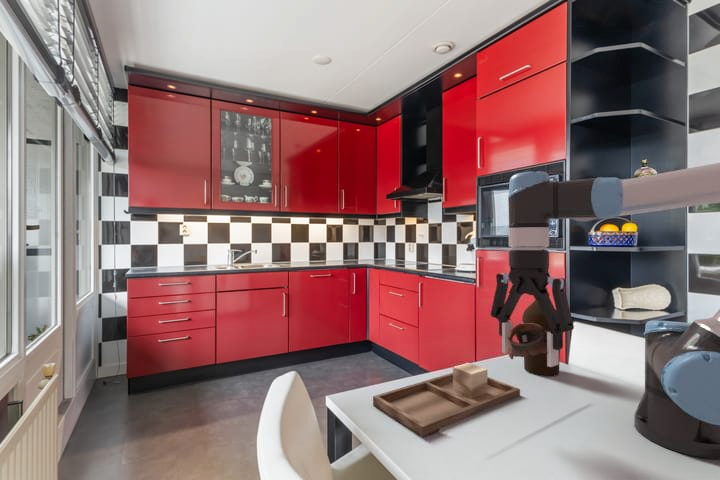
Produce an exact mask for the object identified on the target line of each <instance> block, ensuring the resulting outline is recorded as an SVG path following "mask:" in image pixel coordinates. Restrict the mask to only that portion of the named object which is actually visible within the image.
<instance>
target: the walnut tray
mask: <svg viewBox="0 0 720 480" xmlns="http://www.w3.org/2000/svg"><path fill="white" fill-rule="evenodd" d="M520 396H521V389H520V388H518V387H515V386H512V385H510V384H507V383H504V382H502V381H499V380H497V379H493V377H489V376H487V393H486V394H483V395H480V396H478V397H475V398H472V399H471V398H469V397H467V396H465V395H463V394H460V393H458V392H456V391H454V390H453V372H451V373H447V374H444V375H440V376H437V377H434V378H430V379H426V380H424V381H420V382H417V383H413V384H408V385H406V386H402V387H400V388H397V389H393V390H389V391H386V392H383V393H379V394H375V395H372V406H374V407H375V408H377V410H379V411H381V412H383V413H384V414H385V415H387V416H389V417H390V418H392V419H393V420H394V421H396V422H398V423H399V424H400V425H402V426H404V427H406V429H409V430H410V431H412V432H413V433H414V434H416V435H418V436H419V437H421V438H426V437H428V436H431V435H433V434H435V433H438V432H440V431H441V430H442V429H441V428H444V427H446V426H448V425H452V424H454V423H456V422H458V421H461V420H463V419H466V418H469V417H471V416H473V415H477V414H478V413H481V412H483V411H486V410H488V409H491V408H493V407H496V406H498V405H500V404H503V403H506V402H508V401H510V400H513V399H516V398H518V397H520Z"/></svg>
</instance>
